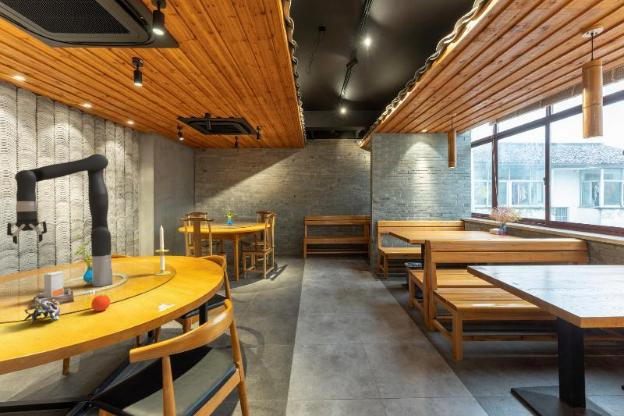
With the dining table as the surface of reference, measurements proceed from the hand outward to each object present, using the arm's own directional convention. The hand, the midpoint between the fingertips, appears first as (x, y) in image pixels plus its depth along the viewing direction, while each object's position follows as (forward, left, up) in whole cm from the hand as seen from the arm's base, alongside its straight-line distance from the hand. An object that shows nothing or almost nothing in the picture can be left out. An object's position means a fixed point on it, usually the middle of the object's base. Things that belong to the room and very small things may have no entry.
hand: (28, 242), depth 147 cm
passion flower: (-7, +44, -28) cm, 53 cm away
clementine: (-26, +44, -28) cm, 58 cm away
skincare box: (-9, +10, -27) cm, 30 cm away
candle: (-63, -9, -28) cm, 70 cm away
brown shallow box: (-9, +12, -28) cm, 32 cm away
